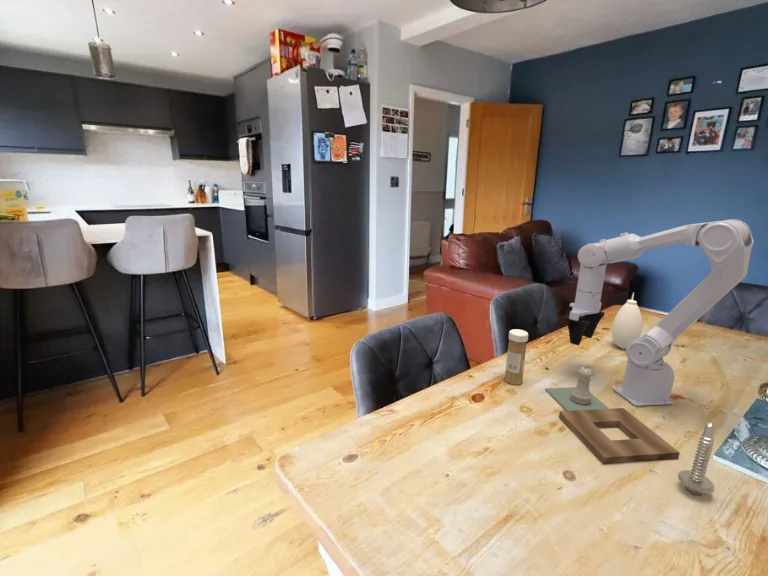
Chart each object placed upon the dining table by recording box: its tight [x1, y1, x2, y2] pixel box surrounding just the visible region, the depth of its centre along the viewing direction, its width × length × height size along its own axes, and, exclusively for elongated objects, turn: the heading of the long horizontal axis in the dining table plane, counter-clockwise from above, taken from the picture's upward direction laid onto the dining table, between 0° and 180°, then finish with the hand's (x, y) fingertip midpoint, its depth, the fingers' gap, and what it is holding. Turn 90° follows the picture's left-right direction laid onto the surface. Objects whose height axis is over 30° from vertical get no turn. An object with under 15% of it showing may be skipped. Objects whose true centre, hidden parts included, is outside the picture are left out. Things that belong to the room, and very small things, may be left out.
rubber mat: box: [544, 386, 610, 411], centre depth 94 cm, size 10×10×1 cm
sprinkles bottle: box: [503, 328, 529, 386], centre depth 101 cm, size 5×5×13 cm
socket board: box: [558, 407, 680, 465], centre depth 81 cm, size 15×15×2 cm
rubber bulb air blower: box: [611, 292, 643, 350], centre depth 123 cm, size 8×8×18 cm
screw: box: [677, 422, 716, 498], centre depth 65 cm, size 13×5×5 cm
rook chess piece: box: [571, 366, 594, 405], centre depth 92 cm, size 4×4×8 cm
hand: (581, 340), depth 105 cm, fingers open, 7 cm apart
